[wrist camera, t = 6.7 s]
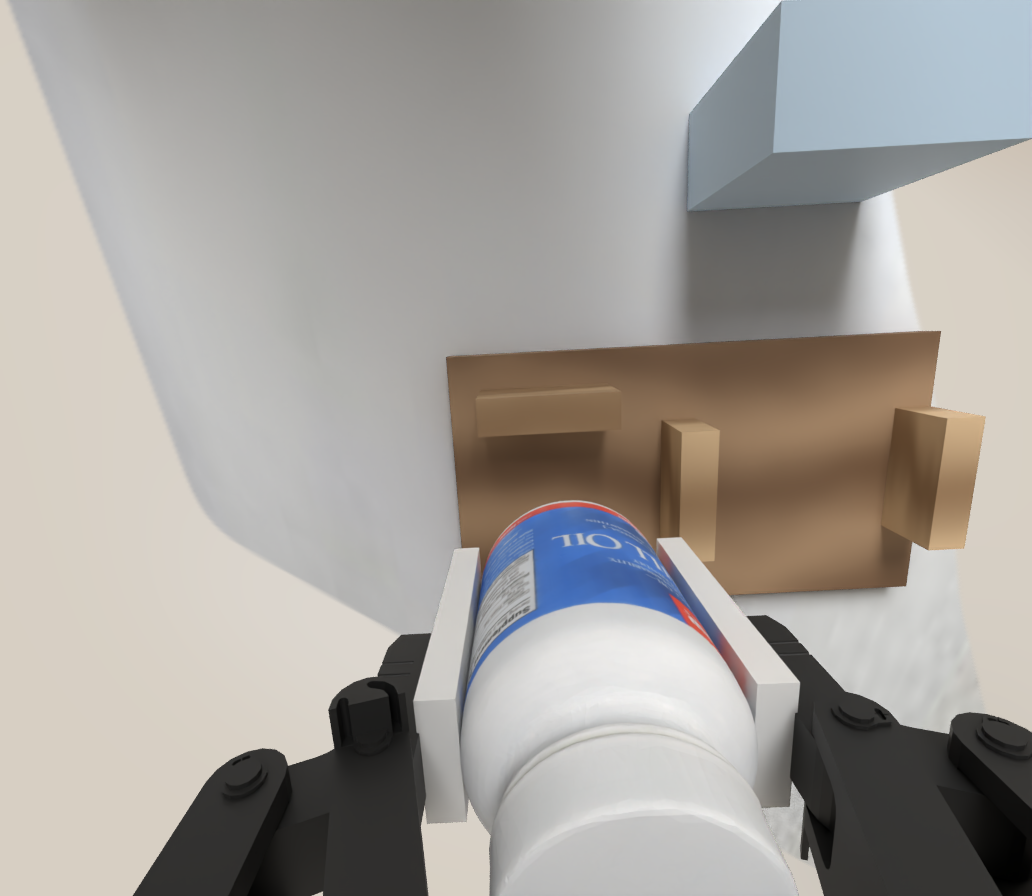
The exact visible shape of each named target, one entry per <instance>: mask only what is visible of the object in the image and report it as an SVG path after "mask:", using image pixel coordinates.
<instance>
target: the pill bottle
mask: <svg viewBox="0 0 1032 896" xmlns="http://www.w3.org/2000/svg"><path fill="white" fill-rule="evenodd" d="M460 761H461V771H462V776H463V781H464V785H465V789H466V792H467V794H468V797H469V800H470V802H471V805H472V806H473V809H474V811H475V813H476V815H477V816H478V818H479V820H480V821H481V823H482V824H483V826H484V827H485V828H486V830H487V831H488V832H489V834H490V835H491V838H490V847H489V852H490V853H489V855H490V896H799V894H798V890H797V887H796V884H795V881H794V878H793V876H792V873H791V871H790V869H789V867H788V865H787V863H786V860H785V859H784V856H783V855H782V852H781V850H780V848H779V846H778V844H777V842H776V840H775V838H774V836H773V833H772V831H771V829H770V827H769V825H768V823H767V821H766V818H765V815H764V813H763V810H762V807H761V805H760V802H759V800H758V798H757V796H756V795H755V793H754V791H753V787H754V784H755V779H756V773H757V766H758V741H757V734H756V728H755V723H754V720H753V716H752V713H751V709H750V707H749V704H748V702H747V700H746V698H745V696H744V694H743V692H742V690H741V688H740V686H739V684H738V682H737V681H736V679H735V677H734V675H733V673H732V672H731V670H730V669H729V667H728V665H727V663H726V662H725V660H724V659H723V657H722V656H721V654H720V652H719V651H718V649H717V648H716V646H715V645H714V643H713V642H712V640H711V639H710V637H709V636H708V634H707V632H706V631H705V629H704V628H703V626H702V625H701V623H700V622H699V620H698V619H697V617H696V616H695V614H694V612H693V611H692V609H691V608H690V606H689V605H688V603H687V602H686V600H685V599H684V597H683V595H682V594H681V592H680V590H679V589H678V587H677V586H676V584H675V583H674V581H673V580H672V578H671V577H670V575H669V574H668V572H667V570H666V569H665V567H664V566H663V564H662V563H661V561H660V560H659V558H658V556H657V555H656V553H655V551H654V550H653V548H652V546H651V545H650V544H649V542H648V541H647V539H646V538H645V537H644V535H643V534H642V533H641V532H640V531H639V530H638V529H637V528H636V527H635V526H634V525H633V524H632V523H631V522H630V521H629V520H628V519H626V518H625V517H624V516H622V515H621V514H619V513H617V512H616V511H614V510H612V509H610V508H608V507H605V506H603V505H599V504H596V503H592V502H587V501H577V500H571V501H558V502H553V503H549V504H545V505H542V506H540V507H537V508H535V509H533V510H530V511H529V512H527V513H525V514H523V515H522V516H520V517H519V518H518V519H516V520H515V521H514V522H513V523H511V524H510V525H509V526H508V527H507V528H506V529H505V530H504V532H503V533H502V534H501V535H500V536H499V538H498V539H497V541H496V542H495V544H494V545H493V547H492V549H491V551H490V553H489V555H488V558H487V561H486V564H485V567H484V571H483V575H482V582H481V588H480V596H479V603H478V610H477V617H476V625H475V632H474V639H473V646H472V653H471V660H470V667H469V674H468V681H467V688H466V694H465V702H464V710H463V719H462V728H461V739H460Z"/></svg>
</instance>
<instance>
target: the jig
mask: <svg viewBox="0 0 1032 896" xmlns="http://www.w3.org/2000/svg"><path fill="white" fill-rule="evenodd" d="M940 334H941V331H914V332H895V333H876V334H858V335H839V336H820V337H801V338H783V339H764V340H745V341H726V342H708V343H689V344H670V345H652V346H633V347H614V348H595V349H577V350H558V351H539V352H520V353H502V354H483V355H464V356H449V357H446V361H447V374H448V386H449V398H450V410H451V422H452V434H453V446H454V458H455V470H456V482H457V494H458V506H459V519H460V531H461V543H462V548H479V551H480V565H481V578H482V575H483V571H484V567H485V564H486V561H487V558H488V555H489V553H490V551H491V549H492V547H493V545H494V544H495V542H496V541H497V539H498V538H499V536H500V535H501V534H502V533H503V532H504V530H505V529H506V528H507V527H508V526H509V525H510V524H511V523H513V522H514V521H515V520H516V519H518V518H519V517H520V516H522V515H523V514H525V513H527V512H529V511H530V510H533V509H535V508H537V507H540V506H542V505H545V504H549V503H553V502H558V501H571V500H577V501H587V502H592V503H596V504H599V505H603V506H605V507H608V508H610V509H612V510H614V511H616V512H617V513H619V514H621V515H622V516H624V517H625V518H626V519H628V520H629V521H630V522H631V523H632V524H633V525H634V526H635V527H636V528H637V529H638V530H639V531H640V532H641V533H642V534H643V535H644V537H645V538H646V539H647V541H648V542H649V544H650V545H651V546H652V548H653V550H654V551H655V553H656V547H657V538H676V537H682V539H683V540H684V541H685V542H686V543H687V545H688V546H689V547H690V548H691V550H692V551H693V552H694V553H695V554H696V556H697V557H698V558H699V559H700V561H701V562H702V563H703V564H704V565H705V567H706V568H707V569H708V570H709V572H710V573H711V574H712V575H713V577H714V578H715V579H716V580H717V581H718V583H719V584H720V585H721V586H722V588H723V589H724V590H725V591H726V592H727V594H728V595H740V594H760V593H780V592H800V591H819V590H839V589H859V588H879V587H899V586H906V583H907V576H908V568H909V561H910V554H911V546H912V542H914V543H916V544H918V545H919V546H921V547H923V548H925V549H927V550H944V549H962V548H964V546H965V540H966V534H967V528H968V522H969V516H970V510H971V504H972V498H973V491H974V485H975V479H976V473H977V467H978V461H979V455H980V448H981V442H982V436H983V430H984V424H985V416H979V415H974V414H969V413H963V412H957V411H952V410H947V409H941V408H936V407H931V400H932V393H933V386H934V379H935V371H936V363H937V357H938V349H939V342H940Z"/></svg>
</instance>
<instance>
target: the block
mask: <svg viewBox="0 0 1032 896" xmlns="http://www.w3.org/2000/svg"><path fill="white" fill-rule="evenodd" d="M1029 139H1032V0H785V1H781V2H780V3H779V5H778V6H777V7H776V8H775V10H774V11H773V12H772V13H771V15H770V16H769V17H768V18H767V19H766V21H765V22H764V23H763V24H762V26H761V27H760V28H759V29H758V30H757V32H756V33H755V34H754V35H753V37H752V38H751V39H750V40H749V42H748V43H747V44H746V45H745V46H744V48H743V49H742V50H741V51H740V53H739V54H738V55H737V56H736V58H735V59H734V60H733V61H732V62H731V64H730V65H729V66H728V67H727V69H726V70H725V71H724V72H723V73H722V75H721V76H720V77H719V78H718V80H717V81H716V82H715V83H714V85H713V86H712V87H711V88H710V89H709V91H708V92H707V93H706V94H705V96H704V97H703V98H702V99H701V101H700V102H699V103H698V104H697V105H696V107H695V108H694V109H693V110H692V112H691V113H690V114H689V148H688V193H687V212H688V211H706V210H723V209H741V208H758V207H776V206H794V205H811V204H829V203H846V202H861V201H864V200H867V199H869V198H872V197H875V196H878V195H880V194H883V193H886V192H888V191H891V190H894V189H897V188H899V187H902V186H905V185H907V184H910V183H913V182H916V181H918V180H921V179H924V178H926V177H929V176H932V175H934V174H937V173H940V172H943V171H945V170H948V169H951V168H953V167H956V166H959V165H962V164H964V163H967V162H969V161H972V160H975V159H978V158H981V157H983V156H986V155H989V154H991V153H994V152H997V151H1000V150H1002V149H1005V148H1007V147H1010V146H1013V145H1016V144H1019V143H1021V142H1024V141H1027V140H1029Z"/></svg>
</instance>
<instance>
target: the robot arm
mask: <svg viewBox="0 0 1032 896" xmlns="http://www.w3.org/2000/svg"><path fill="white" fill-rule="evenodd" d="M656 555H657V556H658V558H659V560H660V561H661V563H662V564H663V566H664V567H665V569H666V570H667V572H668V574H669V575H670V577H671V578H672V580H673V581H674V583H675V584H676V586H677V587H678V589H679V590H680V592H681V594H682V595H683V597H684V599H685V600H686V602H687V603H688V605H689V606H690V608H691V609H692V611H693V612H694V614H695V616H696V617H697V619H698V620H699V622H700V623H701V625H702V626H703V628H704V629H705V631H706V632H707V634H708V636H709V637H710V639H711V640H712V642H713V643H714V645H715V646H716V648H717V649H718V651H719V652H720V654H721V656H722V657H723V659H724V660H725V662H726V663H727V665H728V667H729V669H730V670H731V672H732V673H733V675H734V677H735V679H736V681H737V682H738V684H739V686H740V688H741V690H742V692H743V694H744V696H745V698H746V700H747V702H748V704H749V707H750V709H751V713H752V716H753V720H754V723H755V728H756V734H757V741H758V766H757V773H756V779H755V784H754V787H753V791H754V793H755V795H756V796H757V798H758V800H759V802H760V805H761V807H762V808H768V807H790V796H791V784H792V782H793V783H794V785H795V787H796V788H797V790H798V791H799V793H800V795H801V796H802V798H803V799H804V801H805V802H804V813H803V824H802V835H801V845H800V852H801V859H803V860H808V851H809V847H810V849H811V852H812V856H813V859H814V863H815V866H816V870H817V873H818V876H819V880H820V883H821V887H822V890H823V894H824V896H1032V732H1030V731H1028V730H1027V729H1025V728H1023V727H1021V726H1018V725H1016V724H1014V723H1012V722H1010V721H1008V720H1005V719H1002V718H999V717H995V716H991V715H988V714H981V713H971V712H969V713H964V714H958V715H956V717H955V718H954V719H953V720H952V721H951V726H950V732H949V734H945V733H940V732H934V731H929V730H923V729H917V728H912V727H907V726H903V725H900V724H899V722H898V721H897V720H896V719H895V718H894V717H893V715H892V714H891V713H890V712H889V711H888V710H886V709H885V708H883V707H882V706H880V705H879V704H877V703H876V702H874V701H872V700H870V699H867V698H865V697H863V696H860V695H857V694H853V693H848V692H845V691H844V690H843V689H842V687H841V686H840V685H839V684H838V683H837V682H836V681H835V680H834V679H833V678H832V677H831V676H830V674H829V673H828V672H827V671H826V670H825V669H824V668H823V667H822V666H821V665H820V664H819V663H818V661H817V660H816V659H815V658H814V657H813V656H812V655H809V652H808V651H807V650H806V648H805V647H804V646H803V645H802V644H801V643H798V640H797V639H796V638H795V637H794V635H793V634H792V633H791V632H790V631H789V630H788V629H787V628H786V627H785V626H783V625H782V624H780V623H778V622H777V621H775V620H773V619H772V618H770V617H768V616H767V615H762V616H745V614H744V613H743V612H742V611H741V610H740V608H739V607H738V606H737V605H736V603H735V602H734V601H733V600H732V599H731V597H730V596H729V595H728V594H727V592H726V591H725V590H724V589H723V588H722V586H721V585H720V584H719V583H718V581H717V580H716V579H715V578H714V577H713V575H712V574H711V573H710V572H709V570H708V569H707V568H706V567H705V565H704V564H703V563H702V562H701V561H700V559H699V558H698V557H697V556H696V554H695V553H694V552H693V551H692V550H691V548H690V547H689V546H688V545H687V543H686V542H685V541H684V540H683V539H682V537H676V538H657V547H656ZM481 582H482V578H481V565H480V551H479V548H459V549H454V553H453V556H452V560H451V564H450V567H449V571H448V575H447V579H446V582H445V586H444V590H443V593H442V597H441V601H440V604H439V608H438V612H437V615H436V619H435V623H434V626H433V630H432V633H429V634H409V635H401V636H400V637H399V638H398V639H397V640H396V641H395V642H394V643H393V644H392V645H391V646H390V647H389V648H388V650H387V652H386V655H385V657H384V660H383V662H382V665H381V667H380V670H379V672H378V677H370V678H365V679H362V680H360V681H356V682H354V683H352V684H350V685H349V686H347V687H346V688H344V689H342V690H341V691H340V692H339V693H338V694H337V695H336V696H335V697H334V699H333V700H332V702H331V705H330V707H329V717H330V723H331V729H332V735H333V742H334V749H333V750H332V751H330V752H328V753H326V754H323V755H321V756H318V757H316V758H313V759H309V760H306V761H303V762H299V763H296V764H293V765H290V766H288V765H287V761H286V759H285V756H284V755H283V754H282V753H280V752H278V751H277V750H273V749H263V748H262V749H258V750H253V751H248V752H246V753H243V754H241V755H239V756H237V757H235V758H233V759H231V760H229V761H228V762H227V763H225V764H224V765H223V766H221V767H220V768H219V769H217V770H216V771H215V772H214V774H213V775H212V776H211V777H210V778H209V779H208V780H207V782H206V783H205V784H204V786H203V787H202V789H201V791H200V792H199V794H198V795H197V797H196V798H195V800H194V801H193V803H192V805H191V806H190V808H189V809H188V811H187V812H186V814H185V815H184V817H183V819H182V820H181V822H180V823H179V825H178V826H177V828H176V829H175V831H174V832H173V834H172V836H171V837H170V839H169V840H168V842H167V843H166V845H165V846H164V848H163V850H162V851H161V853H160V854H159V856H158V857H157V859H156V860H155V862H154V863H153V865H152V867H151V868H150V870H149V871H148V873H147V874H146V876H145V877H144V879H143V881H142V882H141V884H140V885H139V887H138V888H137V890H136V891H135V893H134V895H133V896H312V895H315V894H317V893H319V892H322V891H323V896H428V888H427V879H426V870H425V861H424V851H423V842H422V834H421V822H422V816H423V811H424V806H425V810H426V818H427V824H430V823H451V822H466V821H467V811H468V800H469V797H468V794H467V792H466V789H465V785H464V781H463V776H462V771H461V761H460V739H461V728H462V719H463V710H464V702H465V694H466V688H467V681H468V674H469V667H470V660H471V653H472V646H473V639H474V632H475V625H476V617H477V610H478V603H479V596H480V588H481Z"/></svg>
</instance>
